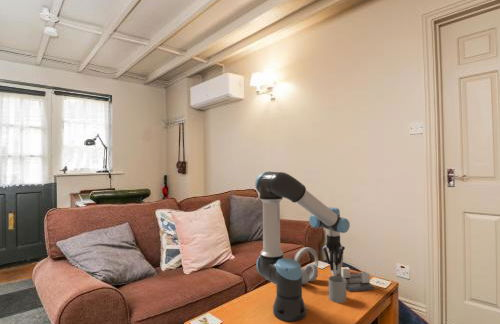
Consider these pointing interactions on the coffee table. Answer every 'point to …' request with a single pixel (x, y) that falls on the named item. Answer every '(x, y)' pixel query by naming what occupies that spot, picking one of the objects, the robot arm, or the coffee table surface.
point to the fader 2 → (364, 277)
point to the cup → (337, 289)
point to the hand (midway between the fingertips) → (334, 275)
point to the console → (356, 283)
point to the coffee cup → (338, 264)
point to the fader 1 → (345, 272)
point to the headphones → (308, 266)
